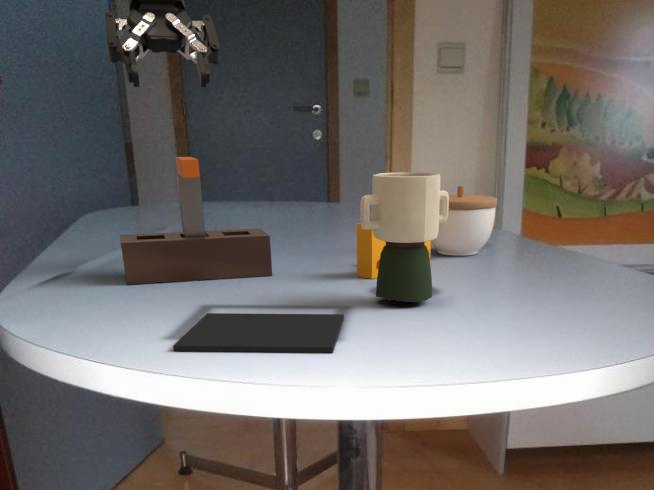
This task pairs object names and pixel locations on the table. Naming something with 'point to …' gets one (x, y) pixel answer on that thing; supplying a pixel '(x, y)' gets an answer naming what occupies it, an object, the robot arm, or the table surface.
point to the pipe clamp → (371, 252)
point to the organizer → (196, 256)
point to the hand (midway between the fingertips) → (170, 81)
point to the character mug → (404, 231)
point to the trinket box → (466, 224)
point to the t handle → (190, 197)
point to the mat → (263, 333)
